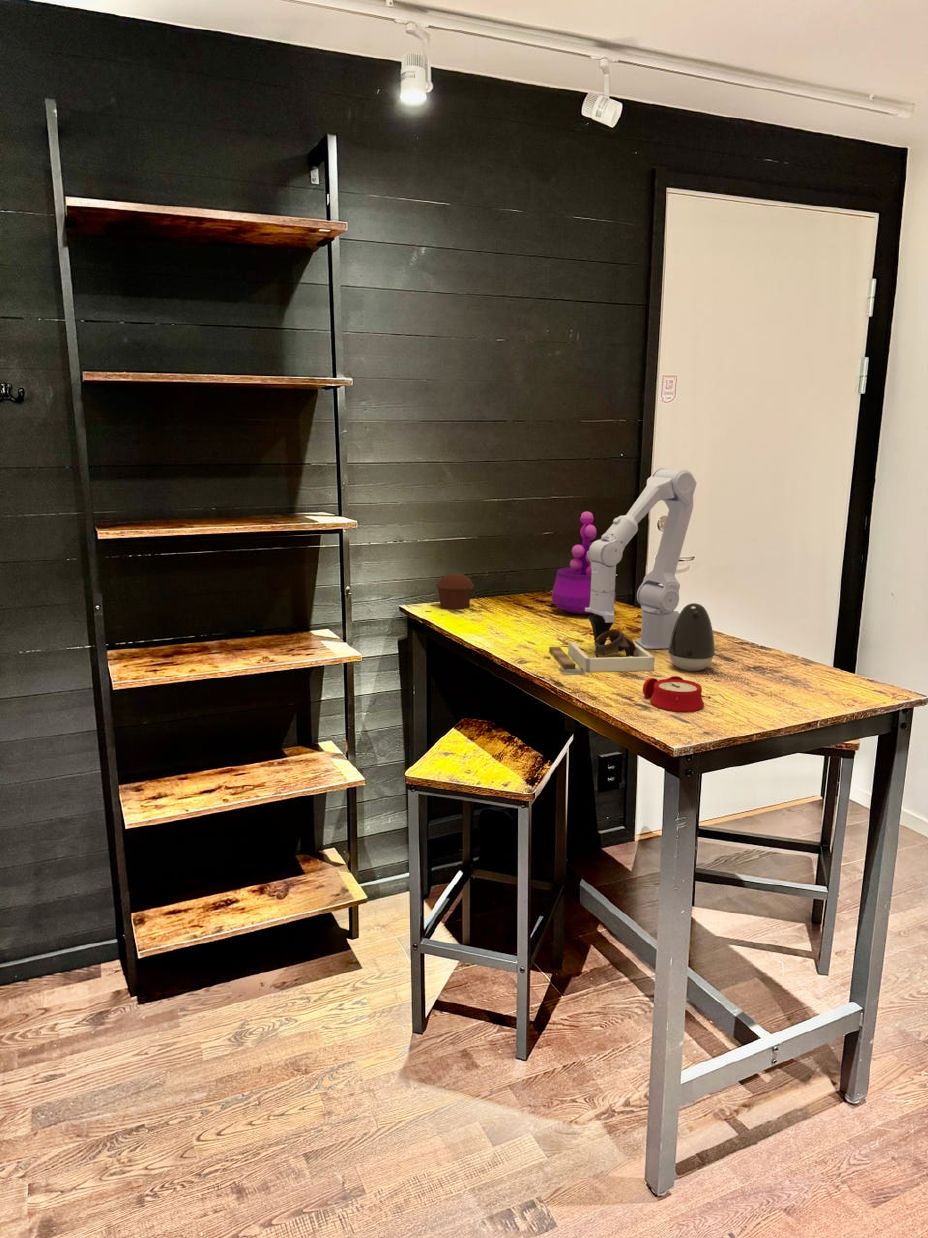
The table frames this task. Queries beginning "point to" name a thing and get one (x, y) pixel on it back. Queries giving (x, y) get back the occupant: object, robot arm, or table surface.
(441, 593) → the muffin
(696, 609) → the black egg shaped dome
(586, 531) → the decorative plant
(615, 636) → the brown hollow round piece
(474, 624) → the table surface
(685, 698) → the alarm clock
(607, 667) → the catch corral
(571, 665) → the walnut scraper
